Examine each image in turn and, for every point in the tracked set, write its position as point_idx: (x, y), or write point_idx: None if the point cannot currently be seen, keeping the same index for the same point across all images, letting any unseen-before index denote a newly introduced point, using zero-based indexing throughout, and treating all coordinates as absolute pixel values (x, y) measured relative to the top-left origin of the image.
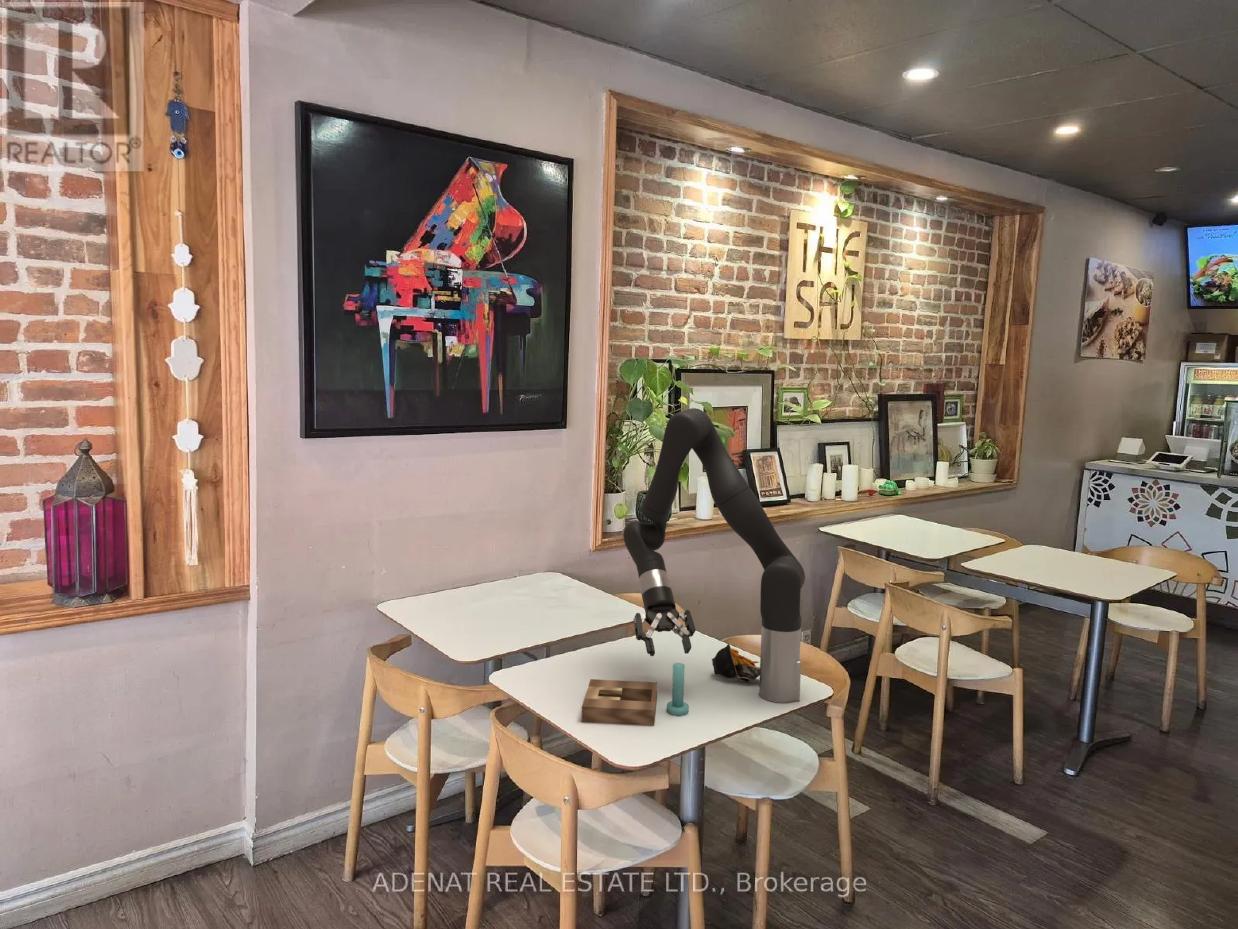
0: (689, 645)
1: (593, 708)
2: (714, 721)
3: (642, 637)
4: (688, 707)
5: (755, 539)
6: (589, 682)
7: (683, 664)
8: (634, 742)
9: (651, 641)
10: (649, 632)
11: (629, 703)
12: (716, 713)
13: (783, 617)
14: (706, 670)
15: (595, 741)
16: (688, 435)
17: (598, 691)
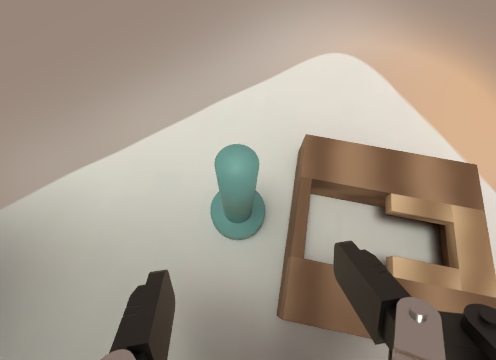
0: (139, 298)
1: (446, 160)
2: (169, 160)
3: (450, 314)
4: (213, 199)
5: None
6: None
7: (217, 167)
8: (337, 97)
9: (377, 280)
10: (424, 335)
11: (365, 172)
12: (150, 197)
13: None
14: None
15: (406, 105)
16: None
17: (458, 255)
